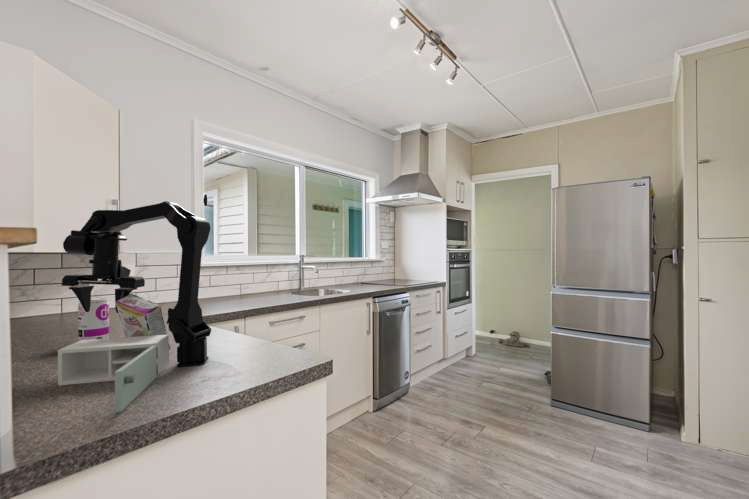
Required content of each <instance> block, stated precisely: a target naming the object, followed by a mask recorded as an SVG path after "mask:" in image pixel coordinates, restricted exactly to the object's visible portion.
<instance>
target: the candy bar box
mask: <svg viewBox="0 0 749 499" xmlns="http://www.w3.org/2000/svg"><path fill="white" fill-rule="evenodd" d="M114 303H115V304H116V307H117V310H118V313H117V314H118V317H119V320H120V323H121V325H122V328H123V331H124V337H138V336H154V335H168V333H167V329H166V323H165V320H164V316H163V313H162V308H161V305H160V304H158V303H156V302H152V301H151V300H148V299H147V298H143V297H140V296H137V295H136V294H135V293H130V294H129V295H127V296H125V297H123V298H122V299H119V300H118V301H116V302H115V301H114ZM170 350H171V345H169V351H170Z"/></svg>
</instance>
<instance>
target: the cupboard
mask: <svg viewBox="0 0 749 499" xmlns="http://www.w3.org/2000/svg"><path fill="white" fill-rule="evenodd" d="M169 336H170V335H169V334H167V335H154V336H138V337H126V336H124V337H111V338H110V337H109V338H107V339H91V340H81V341H75V342H73V343H72V344H69V345H67V346H64V347H62V348H60V349H58V350H57V386H66V385H77V384H79V385H80V384H90V383H100V382H110V381H111V382H113V381H115V371H117V370H118V369H120V368H121V367H122V366H124V365H125V364H127V363H128V362H130V361H131V360H132V359H134V358H135V357H137V356H138V355H140V354H141V353H142V352H144V351H145V350H147V349H148V348H150V347H151V346H158V359H156V360H157V363H158V375H157V377H158V376H159V375H160V374H161V373H163V371H164V370H165V369H166V368H167V367H168V366H169V365H170V350H169V346H170V343H169V342H170V340H169V339H170V337H169Z"/></svg>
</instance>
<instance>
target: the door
mask: <svg viewBox="0 0 749 499" xmlns="http://www.w3.org/2000/svg"><path fill="white" fill-rule="evenodd" d="M156 359H158V346H151V347H150V348H148V349H147V350H145V351H144V352H142V353H141V354H140V355H138V356H137V357H135V358H134V359H132V360H131V361H130V362H128V363H127V364H125V365H124V366H122V367H121V368H120V369H118V370H117V371H115V380H114V413H122V412H123V411H125V409H126V408H127V407H129V405H130V404H131V403H132V402H134V400H136V398H137V397H138V396H139V395H140V394H141V393H143V392H144V390H145V389H147V387H149V385H151V384H152V383H153V382H154V381H155V380H156V379H157V378H158V376H159V375H158V363H157V360H156ZM157 375H158V376H157Z"/></svg>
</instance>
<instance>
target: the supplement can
mask: <svg viewBox="0 0 749 499" xmlns="http://www.w3.org/2000/svg"><path fill="white" fill-rule="evenodd" d="M77 316H78V317H77V318H78V319H77V327H78V328H77V332H78V334H77V337H78V338H77V340H78V341H81V340H91V339H107V338H110V302H109V300H108V298H107V297H95V298H94V297H92V298H91V306H90V311H89V312H85V310H84V308H83V306H82V305H81V303H80V302H79V303H78V305H77ZM78 341H77V342H78Z"/></svg>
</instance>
